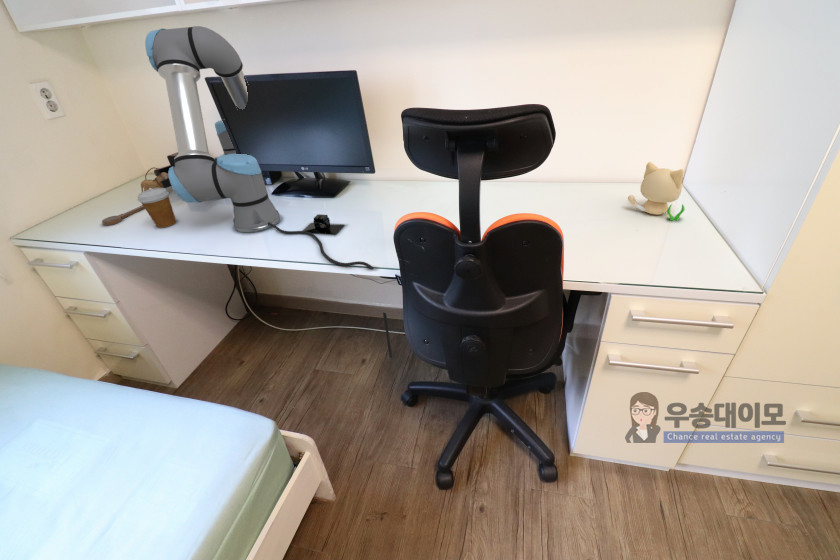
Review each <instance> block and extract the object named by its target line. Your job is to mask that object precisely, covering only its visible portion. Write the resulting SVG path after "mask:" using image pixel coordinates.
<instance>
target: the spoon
mask: <svg viewBox="0 0 840 560" xmlns="http://www.w3.org/2000/svg"><path fill="white" fill-rule="evenodd" d="M143 210H146V209H145V208H144V206H143V205H142V204H141V205H140V206H138V207H135V208H134V209H131V210H128V211H126V212H123V213H120V214H118V215H111V216H107V217H105V218H103V219H102V220H101V223H102V225H103V226H105V227H108V226H113V225H116V224H119V223H121V222H122V221H123V219H126V218H128V217H130V216H132V215H134V214H136V213H139V212H141V211H143Z"/></svg>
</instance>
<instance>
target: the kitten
mask: <svg viewBox="0 0 840 560" xmlns="http://www.w3.org/2000/svg"><path fill="white" fill-rule="evenodd" d="M684 172H685V171H684V169H683V168H680V169H677V170H673V169H670V168H659V167H658V166H657V165H655V164H654V163H653V162H652V161H648V162H647V163H646V165H645V171H644V173H643V179H642V181H641V183H640V186H639V187H640V194H641V195H642V197H644V198H645V199H646V200H645V202H643V204H640V203H638V202H637V200H636V198H635V196H634V195H633V194H630V195H629V194H628V196H627V201H628V202H629V203H630V204H631V205H632V206H633V207H635V208H636V209H637V210H639V211H642V212H645V213H647V214H650V215H663V214H665V213H666V214H667V215H668V219H669V221H676V222H678V220H679V219H680V217H681V215H682V214H683V213H684V212H685V210H686V208H685V206H684V204H683V203H682V204H681V210H680V211H679V212H678V213H676V215H675V216H673V215H672V213H671V208H672V205H673V204H672V203H673V202H675V201H677V200H678V199H680V197H681V194H682V190H683V184H682V183H683V178H684ZM669 203H671V204H670V205H669Z"/></svg>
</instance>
